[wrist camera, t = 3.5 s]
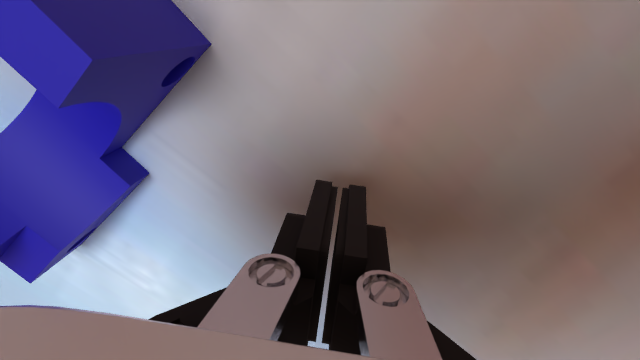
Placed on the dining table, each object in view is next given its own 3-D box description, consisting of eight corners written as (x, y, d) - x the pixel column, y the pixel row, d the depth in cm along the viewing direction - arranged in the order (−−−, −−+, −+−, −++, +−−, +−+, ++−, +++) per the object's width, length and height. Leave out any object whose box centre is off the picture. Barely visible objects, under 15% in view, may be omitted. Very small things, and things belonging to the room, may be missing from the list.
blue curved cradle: (83, 242, 17) (-49, 344, 12) (3, 176, 16) (-183, 256, 11) (243, 76, 13) (151, 116, 7) (147, -28, 12) (-44, -72, 6)
